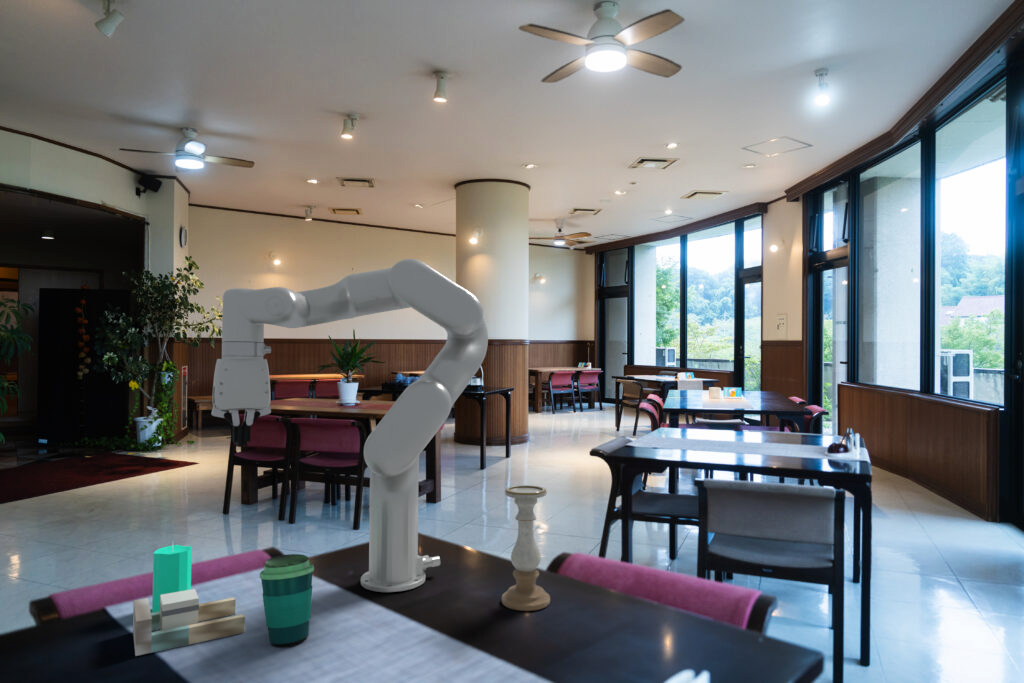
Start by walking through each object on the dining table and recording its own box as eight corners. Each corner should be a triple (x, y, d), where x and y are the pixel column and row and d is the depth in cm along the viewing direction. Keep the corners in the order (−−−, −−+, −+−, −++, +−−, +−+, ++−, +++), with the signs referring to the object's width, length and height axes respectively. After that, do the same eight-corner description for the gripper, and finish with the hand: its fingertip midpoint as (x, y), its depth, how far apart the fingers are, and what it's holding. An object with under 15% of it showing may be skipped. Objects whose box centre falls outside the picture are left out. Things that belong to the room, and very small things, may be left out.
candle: (173, 618, 106) (175, 546, 106) (143, 615, 107) (145, 544, 108) (198, 604, 112) (199, 536, 112) (169, 602, 113) (170, 535, 113)
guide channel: (234, 611, 108) (234, 582, 109) (244, 632, 100) (245, 600, 100) (133, 632, 100) (133, 600, 100) (135, 656, 92) (136, 621, 92)
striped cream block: (194, 625, 103) (195, 588, 103) (198, 636, 99) (199, 598, 99) (159, 632, 100) (160, 594, 100) (161, 644, 96) (162, 605, 96)
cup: (261, 653, 93) (262, 571, 93) (256, 632, 100) (257, 556, 100) (317, 642, 97) (318, 563, 97) (308, 623, 104) (309, 550, 104)
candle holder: (493, 607, 110) (494, 491, 111) (512, 590, 119) (512, 483, 119) (540, 614, 107) (540, 495, 108) (556, 597, 115) (556, 486, 116)
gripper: (278, 352, 130) (276, 441, 129) (198, 351, 122) (196, 446, 121) (286, 352, 124) (285, 445, 123) (203, 351, 115) (201, 451, 115)
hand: (241, 445), depth 122 cm, fingers closed
